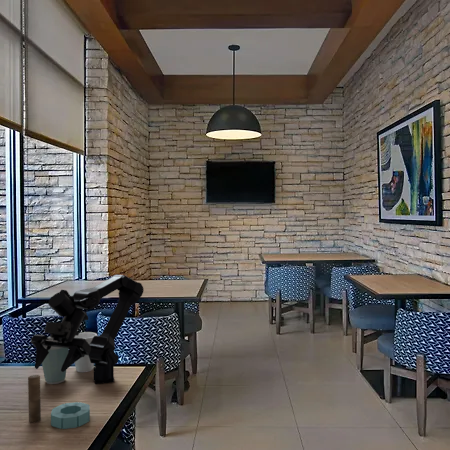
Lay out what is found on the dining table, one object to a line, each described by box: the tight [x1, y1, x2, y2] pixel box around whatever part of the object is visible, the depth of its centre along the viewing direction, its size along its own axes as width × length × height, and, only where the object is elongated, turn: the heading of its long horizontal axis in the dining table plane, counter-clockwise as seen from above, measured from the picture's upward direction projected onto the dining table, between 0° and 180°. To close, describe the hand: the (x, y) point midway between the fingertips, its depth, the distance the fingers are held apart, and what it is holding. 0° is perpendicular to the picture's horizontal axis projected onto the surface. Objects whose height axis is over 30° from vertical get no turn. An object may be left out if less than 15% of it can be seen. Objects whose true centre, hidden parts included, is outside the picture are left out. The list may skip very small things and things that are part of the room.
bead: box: [50, 401, 91, 430], centre depth 135 cm, size 10×10×3 cm
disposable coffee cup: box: [41, 336, 69, 385], centre depth 166 cm, size 11×11×15 cm
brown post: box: [27, 374, 42, 423], centre depth 135 cm, size 3×3×12 cm
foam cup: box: [74, 331, 98, 373], centre depth 178 cm, size 10×9×13 cm
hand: (48, 369), depth 141 cm, fingers open, 9 cm apart
